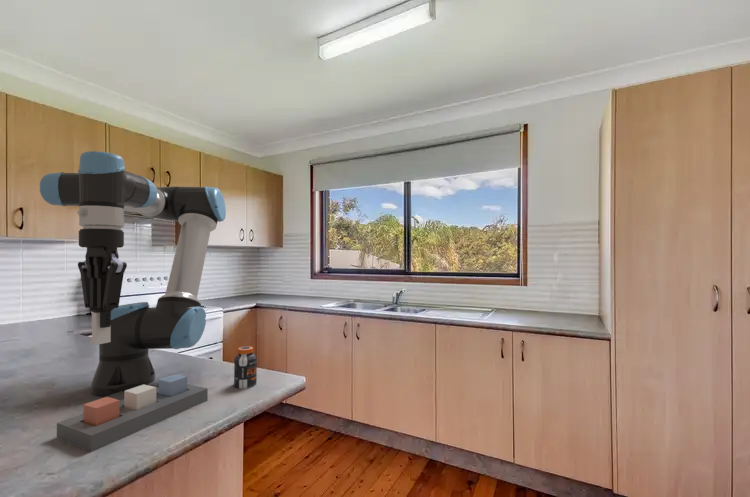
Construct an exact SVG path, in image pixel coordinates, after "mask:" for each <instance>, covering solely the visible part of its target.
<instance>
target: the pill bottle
mask: <svg viewBox="0 0 750 497" xmlns="http://www.w3.org/2000/svg"><path fill="white" fill-rule="evenodd" d="M257 357H258V356H257V355H256V354H254V347H253V346H250V345H249V346H247V345H246V346H240V347H238V349H237V355H235V357H234V363H233V365H234V366H233V368H234V369H233V370H234V371H233V377H234V378H233V387H234V388H236V389H239V390H240V389H242V390H243V389H249V388H252V387H255V386H256V385H257V375H258V374H257V372H258V368H257V367H258V360H257V359H258V358H257Z"/></svg>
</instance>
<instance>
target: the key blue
mask: <svg viewBox="0 0 750 497" xmlns="http://www.w3.org/2000/svg"><path fill="white" fill-rule="evenodd" d="M187 384H188V376H186V375H181V374H178V373H177V374H176V373H174V374H171V375H169V376H166V377H165V376H164V377H162V378H159V379H158V387H159V395H163V396H167V397H172V396H175V395H177V394H180V393H183V392H185V391H187Z"/></svg>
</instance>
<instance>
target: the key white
mask: <svg viewBox="0 0 750 497" xmlns="http://www.w3.org/2000/svg"><path fill="white" fill-rule="evenodd" d="M156 388H157V387H156V386H152V385H149V384H147V385H141V386H138V387H135V388H132V389H129V390H126V391H123V392H124V394H123V395H124V396H123V397H124V398H123V399H124V407H125V408H129V409H132V410H135V411H136V410H139V409H141V408H144V407H147V406H149V405H152V404H154V403H156Z"/></svg>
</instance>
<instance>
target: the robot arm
mask: <svg viewBox="0 0 750 497" xmlns="http://www.w3.org/2000/svg"><path fill="white" fill-rule="evenodd" d="M77 171H78V172H63V171H62V172H51V173H50V172H49V173H47V174H44V176H42V178H41V179H40V182H39V192H40V195H41V197H42V199H43V201H44V202H46V203H48V204H49V205H51V206H52V205H53V206H62V207H69V206H70V207H71V206H72V207H73V206H74V207H78V210H77V215H78V225H79V226H80V227H82V228H79V230H78V246H79V247H81V248H86V253H85V257H84V258H85V260H84V261H79V262H77V267H78V271H79V273H80V280H81V289H82V295H83V303H84V307H85V309H87V308H89V311H90V312H91V345H94V346H97V345H98V354H99V355H98V364H97V368H96V370H95V372H94V375H93V378H92V380H91V384H90V392H91V394H92V395H94V396H104V397H110V396H111V395H114V394H117V393H120V392H124V391H126V390H129V389H132V388H135V387H138V386H141V385H149V384H151V383H153V382H154V381H156V372H155V369H154V366H153V364H152V362H151V358H150V356H149V350H165V349H166V350H167V349H171V350H172V349H173V350H179V349H188V348H192V347H194V346H195V345H196V344H197V343H199V341H200V340H201V338H202V336H203V335H204V332H205V328H206V322H207V320H206V317H207V314H206V311H205V309H204V308H203V307H202V303H201V301H200V300H199V299H198V295H199V289H200V285H201V280H202V275H203V271H204V265H205V261H206V260H205V259H206V254H207V250H208V245H209V241H210V240H209V239H210V235H211V232H213V231H215V229H216V228H217V224H218V222H219V223H220V222H224V220H225V219H226V212H227V210H226V202H225V199H224V195H223V193H222V191H221V190H220V189H219V188H218V187H213V186H206V185H205V186H157V187H156V185H155V183H154V182H153V181H151V179H148V178H146V177H144V176H142V175H141V174H139V175H138V174H135V173H133V172H129V171H127V170H126V166H125V160H124V159H123V157H122V156H121V155H119V154H117V153H113V152H112V153H111V152H107V151H106V152H105V151H99V150H98V151H97V150H95V151H93V150H92V151H91V150H90V151H85V152H82V153H81V154H80V157H79V165H78V170H77ZM125 212H131V213H138V214H140V215H141V216H143V217H147V218H148V217H149V218H156V219H160V220H166V221H172V222H177V223H179V225H181V228H180V232H179V233H180V234H179V237H178V240H177V245H176V249H175V253H174V257H173V261H172V266H171V268H170V269H171V270H170V273H169V277H168V280H167V281H168V282H167V286H166V290H165V294H163V295H161V296H160V297H158V299H157V302H156V306H154V307H150V304H149V302H148V301H141V302H140V301H139V302H132V303H127V304H122V305H120V300H121V299H120V298H121V292H122V286H123V282H124V274H125V273H126V272H125V271H126V269H127V267H128V266H127V262H125V261H122V262H121V261H120V260H119V258H120V257H119V253H118V248H119V249H121V248H123V247H124V245H125V232H124V231H123V229H122V228H124V227H125Z"/></svg>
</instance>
